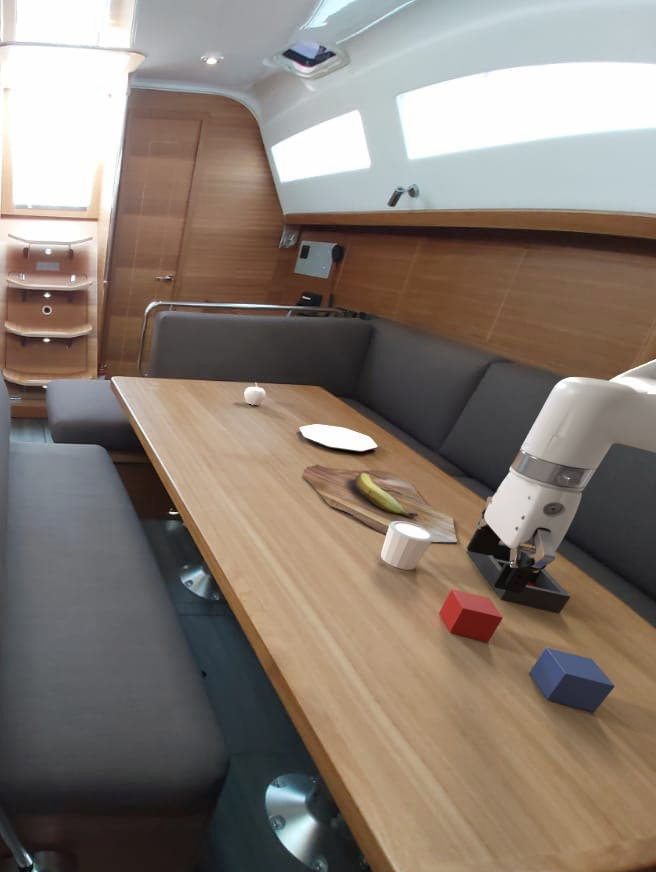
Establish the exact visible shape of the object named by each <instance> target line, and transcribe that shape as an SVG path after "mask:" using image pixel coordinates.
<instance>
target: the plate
mask: <svg viewBox="0 0 656 872" xmlns="http://www.w3.org/2000/svg"><path fill="white" fill-rule="evenodd" d="M298 429H299V431H300V433H301V435H302V437H303V438H304V439H306V440H309V441H310V442H314V443H316V444H319V445H321V446H323V447H327V448H330V449H337V450H341V451H349V452H357V453H363V452H367V451H371V450H375V449H377V448H378V447H379V446H378V444H377V443H376V442H375V441H374V440H373V439H372V438H371V437H370V436H369V435H366V434H363V433H360V432H358V431H354V430H352V429H349V428H346V427H342V426H334V425H327V424H320V423H313V424H309V425H304V426H300V427H299V428H298Z"/></svg>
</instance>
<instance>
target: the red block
mask: <svg viewBox="0 0 656 872" xmlns="http://www.w3.org/2000/svg"><path fill="white" fill-rule="evenodd" d="M438 613H439V615H440V617H441V619H442V621H443V623H444V624H445V627H446V628H447V630H448V632H449V633H451V634H453V635H454V634H455V635H459V636H462V637H465V638H466V637H467V638H470V639H474V640H478V641H482V642H486V643H489V642H490V640H491V639H492V637H493V635H494V634H495V632H496V630H497V628H498V627H499V625H500V624H501V622H502V621H503V616H502V615H501V613H500V611H499V610H498V608H497V607H496V606H495V604H494V603H493V601H492V600H491V598H490V597H487V596H483V595H479V594H475V593H470V592H466V591H462V590H457V589H450V592H449V593H448V595H447V597H446V599H445V601H444V603H443V605H442V606H441V608H440V611H439V612H438Z"/></svg>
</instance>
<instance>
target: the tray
mask: <svg viewBox="0 0 656 872" xmlns="http://www.w3.org/2000/svg"><path fill="white" fill-rule="evenodd" d="M466 550H467V549H466ZM510 551H511V548H509V547H508V546H507V545H506V544H505V543H504V542H502V543H501V542H499V544H498V546H497V548H496V549H495V551H494V553H493V554H492V555H491V556H488V555H483V554H479V553H474V552H470V551H468V550H467V551H466V553H467V555H468V556H469V558H470V559H471V560H472V562H473V563H474V564H475V566H476V567H477V569H478V570H479V572H480V573H481V574H482V576H483V577H484V579H485V580H486V582H488V584H489V585H490V587H491V588H492V590H493V591H494V592H495V594H496V595H497V596H498V598H499V600H502V601H506V602H509V603H514V604H519V605H524V606H529V607H532V608H538V609H540V610H541V609H542V610H546V611H549V612H553V613H554V612H555V613H561V612H562V610H563V609H564V607H565V606H566V605H567V603H568V601H569V600H570V599H571V595H570V594H569V593H568V592H567V591H566V590H565V589H564V588H563V587H562V586H561V585H560V583H559V582H558V581H557V580H556V579H555V578H554V577H553V576H552V575H551V574H550V573H549V572H548V571H547V570H546V568H544V569H542V570H539V572H538V573H534V574H533V576H532V577H531V579H530V580H529V582H528V584H527V585H526V587H525V588H524V590H523V591H522V592H521V593H516V592H512V591H507V590H503V589H499V588H496V587H495V586H494V585H493V582H494V581H495V579H496V577H497V576H498V574H499V572H500V571H501V569H502V567H503V566H504V564H505V563H508V564H510ZM528 557H530V554H528V553H524V552H521V555H520V559H524V558H528Z"/></svg>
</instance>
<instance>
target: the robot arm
mask: <svg viewBox="0 0 656 872" xmlns="http://www.w3.org/2000/svg"><path fill="white" fill-rule="evenodd" d="M614 444H619V445H624V446H628V447H633V448H637V449H639V450H644V451H647V452H651V453H655V454H656V359H654V360H650V361H649V362H647V363H644V364H642V365H639V366H637V367H635V368H632V369H629V370H628V371H627V370H626V371H625V372H623V373H620V374H618V375H616V376H615V377H613V378H611V379H609V380H606V379H600V378H593V377H585V376H584V377H582V376H573V377H566V378H563V379H561V380H559V381H558V382H557V383H556V384H555V385H554V387H553V388H552V390H551V392H550V393H549V395H548V396H547V398H546V401H545V402H544V404H543V406H542V408H541V410H540V412H539V414H538V415H537V417H536V419H535V421H534V422H533V424H532V426H531V428H530V429H529V432H528V434H527V435H526V438H525V439H524V441H523V443H522V445H521V446H520V448H519V450H518V452H517V454H516V455H515V458H514V459H513V461H512V463H511V465H510V467H509V468H508V469H509V472H508V474H507V475H506V476H505V478H504V479H503V480H502V482H501V483H500V485H499V486H498V488H497V489H496V491H495V493H494V494H493V495H492V496H490V495H489V496H488V497H486V502H485V506H484V509H483V510H482V511H481V519H480V520H479V521H478V522H477V528H476V530H475V531H474V533H473V535H472V537H471V539H470V541H469V542H468V544H467V546H466V550H468V551H470V552H474V553H479V554H483V555H488V556H491V555H492V554H493V553H494V551H495V549H496V548H497V546H498V544H499V543H501V541H502V543H503V544H506V545H507V546H508V547H509V548H511V551H510V564H508V563H505V564H504V566H503V567H502V569H501V571H500V572H499V574H498V576H497V577H496V579H495V581H494V582H493V585H494V586H495V587H496V588H499V589H503V590H507V591H512V592H516V593H521V592H522V591H523V590H524V588H525V587H526V585H527V584H528V582H529V580H530V579H531V577H532V576H533V574H534V573H538V572H539V570H542V569H546V568H547V566H548V565H549V564H551V563H552V562H554V561H555V560H556V559H557V558H556V557H557V556H556V551H557V549H558V548H559V546H560V544H561V543H562V542H563V539H564V537H565V536H566V534H567V532H568V530H569V528H570V527H571V524H572V522H573V520H574V518H575V517H576V516H575V515H576V514H577V511H578V508H579V506H580V503H581V499H582V495H583V493H582V492H583V491H584V489H585V488H586V487H587V485H588V484H589V482H590V480H591V479H592V477H593V476H594V474H595V472H596V470H597V469H598V467H599V466H600V464H601V463H602V461H603V460H604V458H605V457H606V455H607V453H608V452H609V451H610V449H611V447H612V445H614ZM522 544H523V545H522ZM524 545H526V546H524ZM527 545H528V546H527ZM529 546H531V547H529ZM521 552H524V553H528V554H530V557H528V558H524V559H520V555H521Z"/></svg>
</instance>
